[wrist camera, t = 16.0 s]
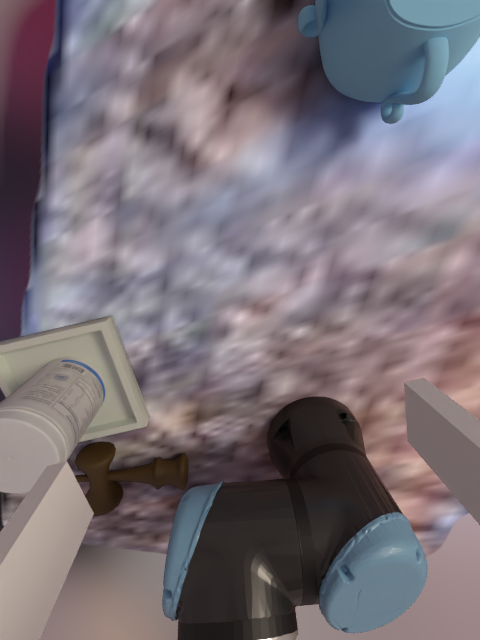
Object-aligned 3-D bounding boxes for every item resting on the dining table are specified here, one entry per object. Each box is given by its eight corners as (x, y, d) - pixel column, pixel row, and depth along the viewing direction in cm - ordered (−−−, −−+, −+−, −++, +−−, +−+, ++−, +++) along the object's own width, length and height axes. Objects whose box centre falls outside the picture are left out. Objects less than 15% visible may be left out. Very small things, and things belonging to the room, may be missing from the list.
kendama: (190, 480, 53) (70, 489, 51) (188, 433, 50) (60, 440, 48) (188, 510, 47) (52, 522, 45) (185, 459, 44) (40, 468, 42)
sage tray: (149, 416, 47) (146, 426, 45) (44, 440, 47) (35, 452, 45) (112, 315, 42) (105, 321, 40) (-7, 343, 42) (-20, 350, 40)
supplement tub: (62, 420, 46) (-7, 508, 32) (27, 367, 43) (-66, 438, 29) (121, 399, 45) (77, 478, 31) (90, 344, 42) (26, 405, 28)
